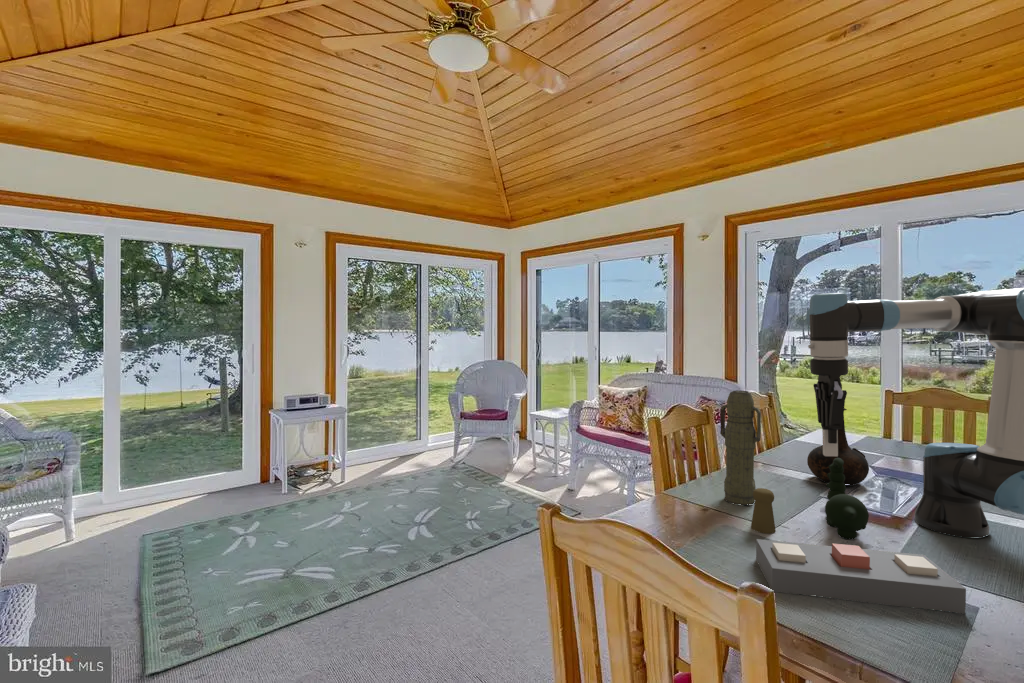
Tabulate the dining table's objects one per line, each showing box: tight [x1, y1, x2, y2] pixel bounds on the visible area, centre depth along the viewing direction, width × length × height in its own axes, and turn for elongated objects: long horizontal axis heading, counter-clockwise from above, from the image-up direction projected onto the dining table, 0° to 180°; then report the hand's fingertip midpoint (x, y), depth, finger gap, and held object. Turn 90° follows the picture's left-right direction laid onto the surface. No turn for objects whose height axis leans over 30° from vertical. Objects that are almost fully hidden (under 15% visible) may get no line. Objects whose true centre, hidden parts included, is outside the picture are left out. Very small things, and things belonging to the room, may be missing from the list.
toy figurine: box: [824, 458, 870, 541], centre depth 131 cm, size 9×19×25 cm
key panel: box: [755, 538, 967, 615], centre depth 104 cm, size 34×14×5 cm, turn 76°
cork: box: [750, 487, 776, 535], centre depth 132 cm, size 6×6×11 cm
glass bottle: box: [807, 407, 870, 486], centre depth 169 cm, size 18×18×28 cm
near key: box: [894, 554, 938, 576], centre depth 101 cm, size 5×5×4 cm
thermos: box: [719, 390, 762, 505], centre depth 152 cm, size 9×12×35 cm
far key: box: [772, 543, 806, 563], centre depth 107 cm, size 5×5×4 cm
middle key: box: [831, 543, 870, 570], centre depth 104 cm, size 5×5×4 cm
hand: (830, 455), depth 116 cm, fingers closed
